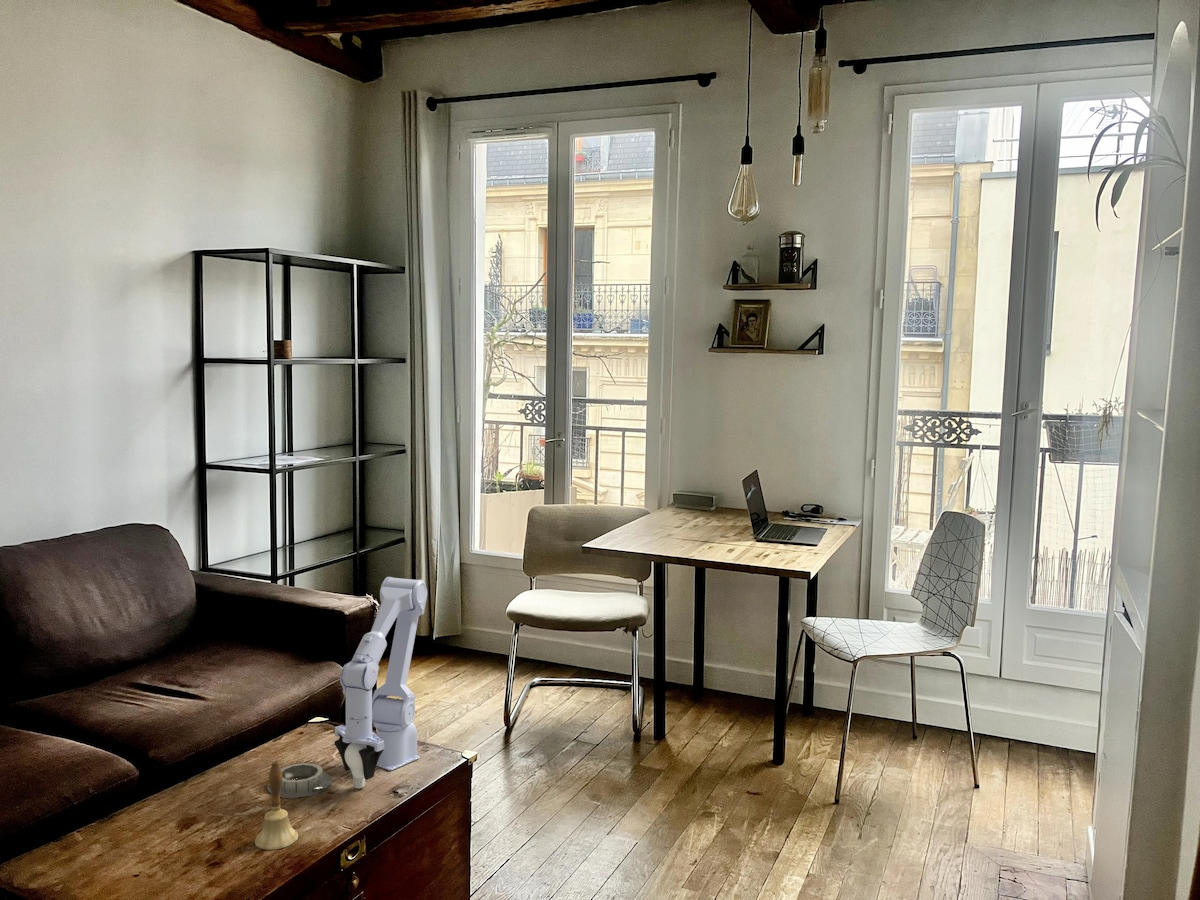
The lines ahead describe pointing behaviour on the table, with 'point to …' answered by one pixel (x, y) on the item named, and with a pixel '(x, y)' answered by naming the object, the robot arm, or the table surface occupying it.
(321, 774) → the lamp base
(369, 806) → the table surface
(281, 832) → the hand bell
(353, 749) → the lightbulb
